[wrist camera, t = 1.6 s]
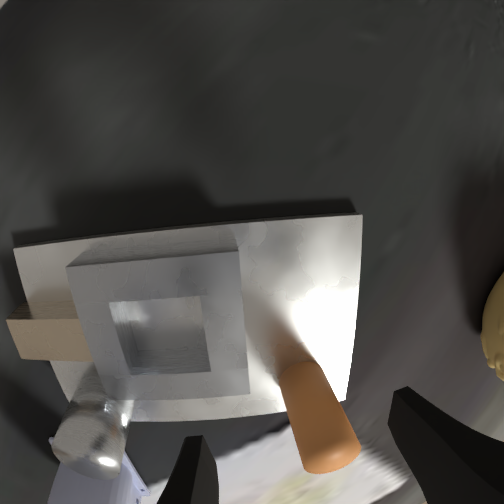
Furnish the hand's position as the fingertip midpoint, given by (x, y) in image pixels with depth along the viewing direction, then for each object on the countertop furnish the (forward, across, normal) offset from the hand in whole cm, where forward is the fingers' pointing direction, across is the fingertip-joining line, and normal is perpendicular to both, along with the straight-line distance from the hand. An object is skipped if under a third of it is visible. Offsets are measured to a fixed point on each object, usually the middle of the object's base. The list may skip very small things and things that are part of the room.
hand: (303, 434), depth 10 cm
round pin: (+9, -2, +5) cm, 10 cm away
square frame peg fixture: (+9, +9, -2) cm, 12 cm away
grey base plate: (+10, +5, +1) cm, 11 cm away
